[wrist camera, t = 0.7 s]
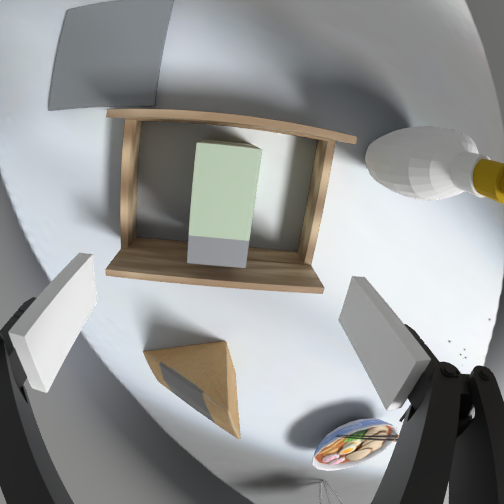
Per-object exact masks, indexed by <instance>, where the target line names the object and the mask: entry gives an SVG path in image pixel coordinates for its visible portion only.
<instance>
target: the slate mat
mask: <svg viewBox="0 0 504 504" xmlns="http://www.w3.org/2000/svg"><path fill="white" fill-rule="evenodd" d="M173 2H174V0H120V1H112V2H105V3H99V4H93V5H88V6H82V7H78V8H73V9H69V10H68V11H67V14H66V18H65V22H64V25H63V29H62V33H61V37H60V42H59V46H58V51H57V55H56V61H55V66H54V72H53V78H52V85H51V92H50V100H49V109H48V111H54V110H64V109H75V108H89V107H111V106H155V99H156V92H157V85H158V78H159V72H160V66H161V60H162V54H163V49H164V43H165V38H166V33H167V28H168V24H169V19H170V15H171V11H172V6H173Z"/></svg>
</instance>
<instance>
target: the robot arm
mask: <svg viewBox="0 0 504 504" xmlns="http://www.w3.org/2000/svg"><path fill="white" fill-rule="evenodd" d="M97 303H98V299H97V291H96V283H95V274H94V265H93V254H85V253H79V254H78V255H77V256H76V257H75V258H74V259H73V260H72V261H71V262H70V263H69V264H68V265H67V266H66V267H65V268H64V269H63V270H62V271H61V272H60V273H59V274H58V275H57V276H56V278H55V279H54V280H53V281H52V282H51V283H50V284H49V285H48V286H47V287H46V288H45V290H44V291H43V292H42V293H41V294H40V295H39V296H38V298H34V297H33V298H31V299H29V300H28V301H26V302H24V303H23V305H22V306H21V307H20V308H19V309H18V311H17V312H16V313H15V314H14V315H13V317H11V318H10V320H9V321H8V322H7V323H6V324H5V326H4V327H3V328H2V329H1V330H0V486H1V489H2V492H3V494H4V497H5V500H6V503H7V504H74V503H73V501H72V499H71V498H70V496H69V494H68V492H67V490H66V489H65V487H64V485H63V483H62V481H61V479H60V477H59V475H58V473H57V471H56V469H55V467H54V464H53V462H52V460H51V458H50V455H49V453H48V451H47V449H46V446H45V444H44V441H43V439H42V436H41V433H40V431H39V428H38V425H37V423H36V420H35V417H34V414H33V411H32V408H31V405H30V402H29V398H28V395H27V392H26V389H25V387H24V385H23V384H24V382H25V380H26V379H28V381H29V383H30V385H31V387H32V388H34V389H37V390H39V391H43V392H46V393H48V391H49V389H50V387H51V384H52V382H53V381H54V379H55V377H56V375H57V373H58V371H59V369H60V367H61V365H62V363H63V361H64V360H65V358H66V356H67V354H68V352H69V350H70V348H71V347H72V345H73V343H74V341H75V340H76V338H77V336H78V334H79V333H80V331H81V329H82V328H83V326H84V324H85V322H86V321H87V319H88V317H89V316H90V314H91V312H92V311H93V309H94V308H95V306H96V304H97ZM339 322H340V324H341V326H342V327H343V329H344V331H345V333H346V335H347V336H348V338H349V340H350V342H351V344H352V346H353V348H354V349H355V351H356V353H357V355H358V357H359V359H360V361H361V362H362V364H363V366H364V368H365V370H366V372H367V374H368V376H369V378H370V379H371V381H372V383H373V385H374V387H375V389H376V391H377V393H378V395H379V397H380V399H381V401H382V403H383V405H384V407H385V409H386V411H387V410H393V409H398V408H401V407H402V406H403V404H404V403H405V401H406V400H407V398H408V399H409V401H410V403H411V405H410V406H409V408H408V409H407V410H406V412H405V413H404V415H403V416H402V417H401V419H400V421H401V422H402V420H403V419H404V418H405V419H404V422H403V425H402V428H401V431H400V434H399V437H398V440H397V443H396V446H395V449H394V451H393V454H392V457H391V459H390V462H389V464H388V467H387V469H386V472H385V474H384V476H383V479H382V481H381V483H380V486H379V488H378V490H377V492H376V494H375V497H374V499H373V501H372V503H371V504H443V502H444V498H445V494H446V490H447V486H448V481H449V504H504V401H503V398H502V395H501V392H500V389H499V387H498V384H497V381H496V378H495V376H494V374H493V373H492V372H491V371H490V369H488V368H487V367H484V366H476V367H474V369H473V370H472V372H471V374H460V372H459V370H458V369H457V368H456V367H455V366H454V365H452V364H450V363H447V362H439V361H438V359H437V358H436V357H435V356H434V354H433V353H432V352H431V350H430V349H429V348H428V347H427V345H426V344H424V342H423V340H422V339H420V337H419V335H418V334H417V333H416V332H415V330H413V329H412V328H411V327H409V326H408V325H406V324H403V322H402V321H401V320H400V319H399V318H398V316H397V315H396V314H395V313H394V311H393V310H392V309H391V308H390V307H389V305H388V304H387V303H386V302H385V301H384V299H383V298H382V297H381V296H380V295H379V293H378V292H377V291H376V290H375V289H374V287H373V286H372V285H371V284H370V283H369V282H368V280H367V279H366V278H365V277H355V276H352V278H351V282H350V285H349V289H348V292H347V295H346V298H345V301H344V305H343V308H342V311H341V314H340V317H339ZM474 410H475V417H474V418H473V419H472V415H471V414H472V413H473V411H474Z"/></svg>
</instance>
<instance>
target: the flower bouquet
mask: <svg viewBox="0 0 504 504" xmlns="http://www.w3.org/2000/svg"><path fill="white" fill-rule="evenodd" d="M325 482H326V483H327V485H328V486H329V487H330V488H331V489H332V491H333V492H334V493H335V494H336V496H337V498H338V499H339V501H340V502H341V504H343V503H342V501H341V500H340V498H339V496H338V495H337V493H336V492H335V490H334V489H333V488H332V487H331V486H330V484H329V483H328V482H327V481H325V480H323V484H324V487H325V490H326V493H327V497H328V501H329V504H331V502H330V498H329V494H328V490H327V486H326V483H325ZM321 490H322V482H320V491H319V499H320V504H322V500H321Z"/></svg>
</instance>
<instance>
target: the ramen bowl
mask: <svg viewBox="0 0 504 504" xmlns="http://www.w3.org/2000/svg"><path fill="white" fill-rule="evenodd" d="M398 437H399V435H398V432H397V428H396V427H395V426H393V425H392V424H389V423H387V422H384V421H382V420H379V419H375V418H371V419H359V420H355V421H351V422H348V423H346V424H344V425H342V426H339V427H338V428H336V429H335V430H333V431H331V432H330V433H329V434H327V435H326V436H325V438H324V439H323V440H322V441H321V442H320V443H319V445H318V446H317V448H316V451H315V453H314V457H313V462H312V465H313V466H314V467H315V468H317V469H319V470H325V471H332V470H341V469H345V468H349V467H352V466H356V465H359V464H361V463H363V462H365V461H368V460H370V459H372V458H373V457H375V456H377V455H378V454H380V453H381V452H383V451H384V450H386V449H387V448H388V447H389V446H390V445H391V444H392V443H393V442H394V441H397V440H398V439H395V438H398Z"/></svg>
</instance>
